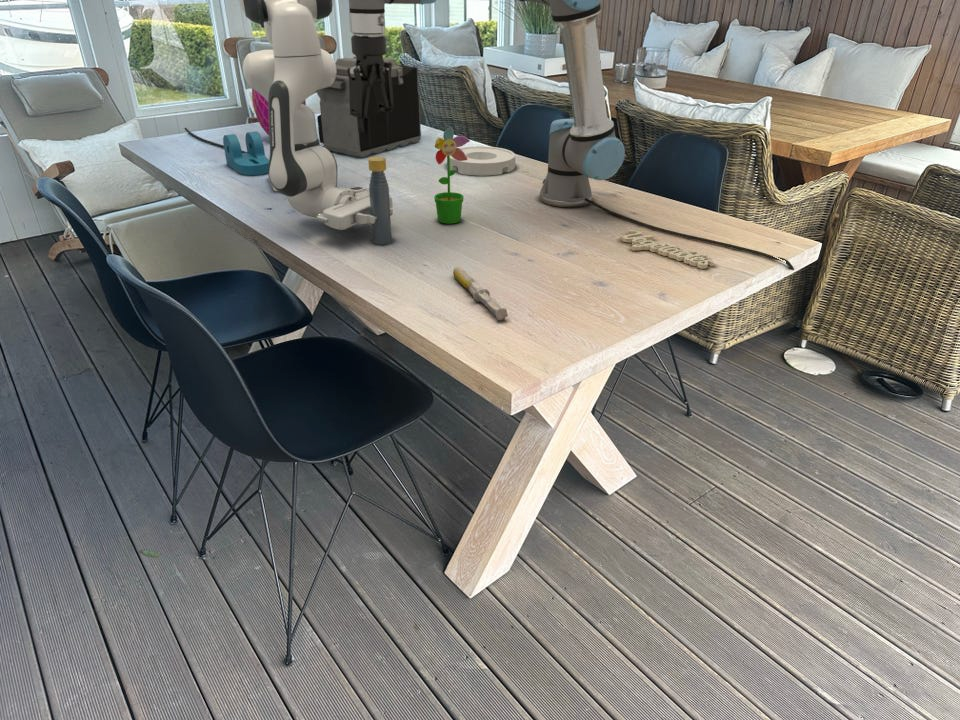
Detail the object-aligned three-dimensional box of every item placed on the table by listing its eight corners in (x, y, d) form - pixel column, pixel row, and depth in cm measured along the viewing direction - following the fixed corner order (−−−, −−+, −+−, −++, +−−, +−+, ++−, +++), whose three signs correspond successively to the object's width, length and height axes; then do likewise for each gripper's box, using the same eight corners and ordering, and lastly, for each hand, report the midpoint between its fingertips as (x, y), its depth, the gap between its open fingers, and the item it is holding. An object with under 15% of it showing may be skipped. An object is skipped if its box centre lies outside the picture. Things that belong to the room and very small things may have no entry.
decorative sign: (607, 237, 173) (632, 229, 179) (607, 241, 174) (631, 232, 180) (698, 269, 156) (722, 258, 162) (697, 273, 157) (721, 262, 163)
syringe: (449, 274, 155) (449, 263, 153) (465, 272, 156) (464, 260, 154) (490, 323, 135) (491, 310, 133) (508, 319, 136) (508, 307, 134)
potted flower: (440, 227, 182) (438, 129, 169) (428, 218, 188) (425, 123, 175) (472, 221, 185) (472, 126, 173) (459, 213, 191) (459, 120, 179)
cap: (388, 167, 165) (387, 157, 164) (383, 171, 161) (383, 161, 160) (371, 166, 165) (371, 156, 164) (366, 171, 162) (366, 160, 161)
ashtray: (449, 157, 245) (449, 145, 243) (514, 158, 244) (514, 146, 242) (444, 174, 225) (444, 162, 223) (515, 176, 224) (515, 164, 222)
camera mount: (227, 164, 233) (221, 132, 227) (257, 160, 238) (252, 129, 233) (244, 176, 220) (239, 143, 215) (276, 172, 225) (271, 139, 220)
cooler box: (383, 133, 276) (378, 52, 261) (425, 141, 265) (422, 56, 250) (314, 150, 251) (304, 61, 235) (358, 160, 240) (350, 67, 224)
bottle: (394, 238, 174) (389, 158, 164) (389, 245, 170) (384, 163, 160) (375, 237, 175) (370, 157, 165) (370, 244, 171) (364, 162, 161)
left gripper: (310, 204, 166) (354, 215, 160) (365, 184, 181) (407, 193, 175) (313, 229, 169) (356, 240, 163) (367, 208, 184) (408, 217, 178)
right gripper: (355, 39, 140) (362, 154, 151) (407, 32, 154) (410, 137, 166) (326, 37, 143) (335, 149, 154) (380, 30, 157) (385, 134, 169)
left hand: (383, 216), depth 169 cm, fingers closed on bottle, 5 cm apart
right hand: (374, 143), depth 160 cm, fingers open, 6 cm apart
